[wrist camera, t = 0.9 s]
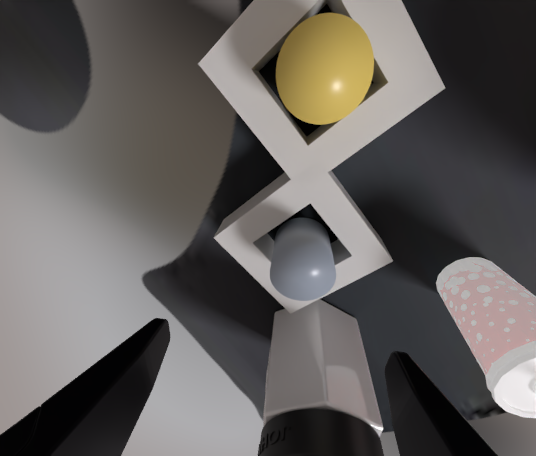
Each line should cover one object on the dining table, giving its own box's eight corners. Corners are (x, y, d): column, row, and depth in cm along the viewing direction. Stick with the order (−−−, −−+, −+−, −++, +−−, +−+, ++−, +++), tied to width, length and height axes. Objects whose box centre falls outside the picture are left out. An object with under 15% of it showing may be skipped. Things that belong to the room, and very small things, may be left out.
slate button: (308, 207, 18) (310, 236, 15) (340, 246, 19) (349, 282, 16) (263, 237, 20) (256, 269, 16) (296, 272, 21) (296, 309, 17)
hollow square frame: (338, -70, 13) (347, -108, 11) (421, 87, 16) (445, 87, 13) (214, 67, 17) (198, 63, 14) (300, 177, 19) (300, 191, 17)
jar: (273, 293, 25) (254, 445, 14) (362, 300, 24) (410, 465, 14) (271, 355, 29) (255, 507, 19) (347, 362, 28) (375, 525, 18)
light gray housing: (315, 148, 18) (318, 159, 16) (381, 239, 21) (393, 261, 18) (223, 219, 22) (213, 237, 19) (291, 289, 24) (290, 313, 22)
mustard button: (327, 10, 13) (338, -16, 10) (369, 81, 14) (392, 80, 11) (266, 71, 15) (256, 66, 11) (309, 130, 16) (312, 143, 12)
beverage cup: (414, 270, 22) (558, 500, 10) (496, 235, 20) (809, 475, 8) (441, 316, 24) (588, 554, 12) (518, 289, 22) (794, 547, 10)
